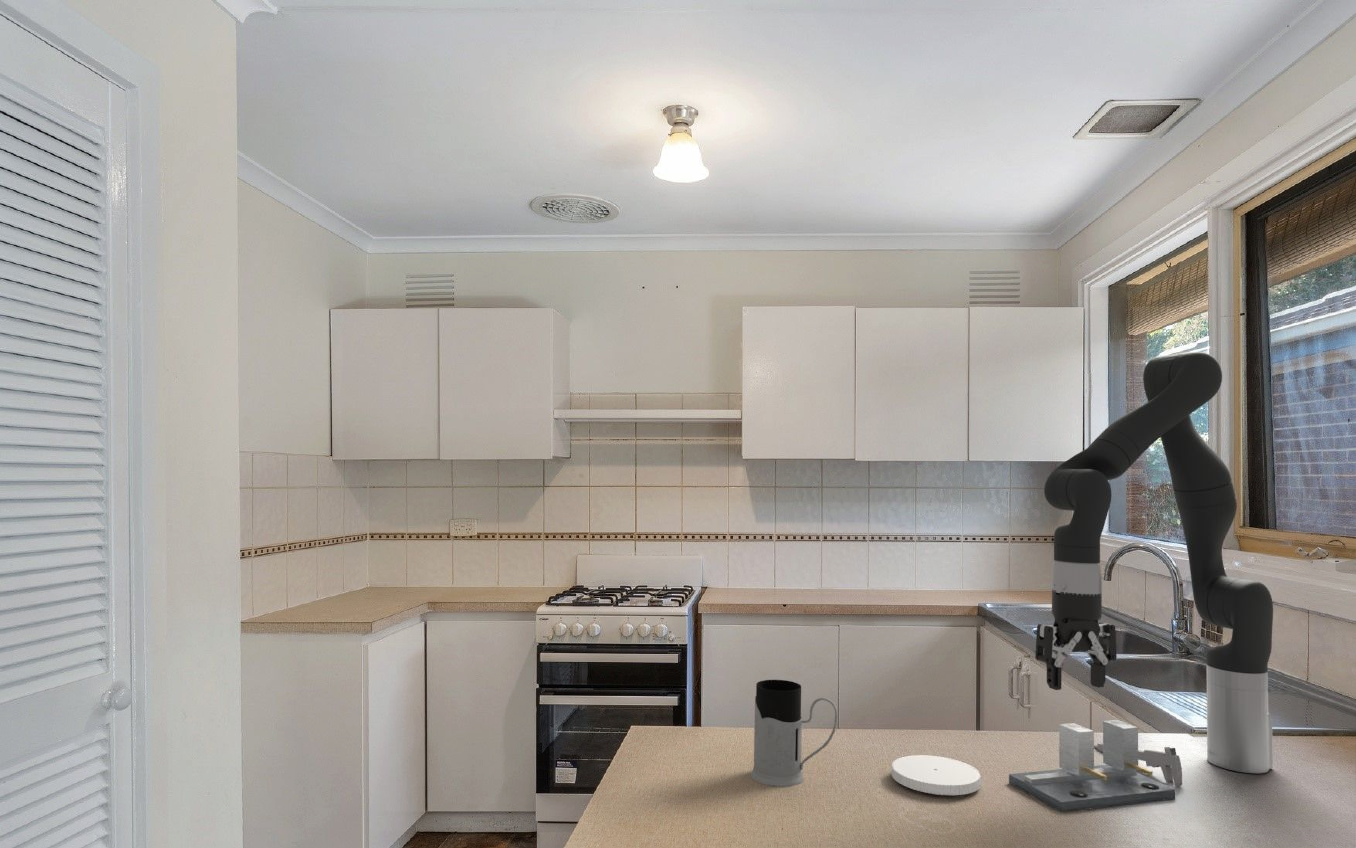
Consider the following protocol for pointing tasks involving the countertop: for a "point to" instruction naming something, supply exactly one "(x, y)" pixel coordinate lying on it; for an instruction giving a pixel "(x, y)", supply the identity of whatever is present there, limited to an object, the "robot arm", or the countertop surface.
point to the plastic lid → (936, 775)
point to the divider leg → (1077, 750)
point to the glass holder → (780, 733)
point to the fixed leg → (1121, 746)
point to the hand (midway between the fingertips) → (1076, 687)
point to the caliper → (1161, 762)
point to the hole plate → (1090, 788)
